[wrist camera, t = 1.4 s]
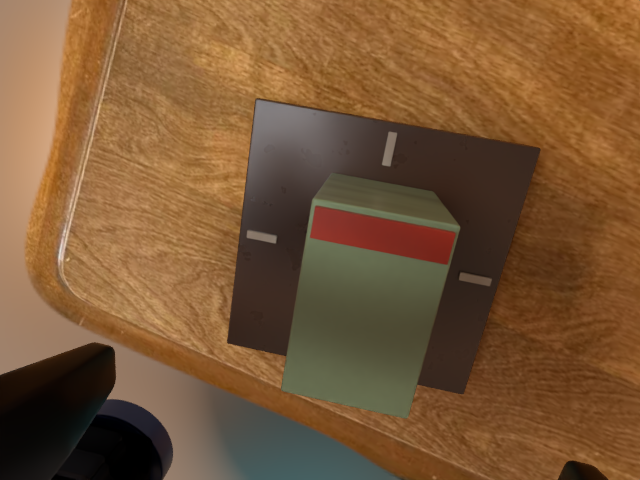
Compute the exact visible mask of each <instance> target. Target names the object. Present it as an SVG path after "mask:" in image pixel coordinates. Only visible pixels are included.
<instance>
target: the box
mask: <svg viewBox="0 0 640 480" xmlns="http://www.w3.org/2000/svg"><path fill="white" fill-rule="evenodd" d="M459 231H460V225H459V224H458V223H457V222H456V220H455V219H454V218H453V216H452V215H451V214H450V212H449V211H448V210H447V208H446V207H445V206H444V205H443V203H442V202H441V201H440V199H439V198H438V197H437V195H436V194H435V193H434V192H433V191H428V190H423V189H417V188H412V187H406V186H401V185H396V184H390V183H385V182H380V181H374V180H369V179H363V178H358V177H353V176H347V175H342V174H337V173H332V174H331V175H330V176H329V178H328V179H327V180H326V182H325V183H324V184H323V186H322V187H321V188H320V190H319V191H318V192H317V194H316V195H315V197H314V198H313V199H312V204H311V210H310V216H309V222H308V228H307V234H306V241H305V247H304V253H303V259H302V265H301V271H300V277H299V283H298V289H297V295H296V301H295V307H294V313H293V319H292V325H291V331H290V337H289V343H288V350H287V356H286V362H285V368H284V374H283V380H282V386H281V389H282V391H284V392H289V393H293V394H298V395H302V396H307V397H311V398H316V399H320V400H325V401H329V402H334V403H338V404H342V405H347V406H351V407H356V408H360V409H365V410H369V411H374V412H378V413H383V414H387V415H392V416H396V417H401V418H405V419H406V418H408V416H409V412H410V409H411V405H412V402H413V398H414V394H415V391H416V387H417V383H418V380H419V376H420V372H421V369H422V365H423V362H424V358H425V354H426V351H427V347H428V343H429V340H430V336H431V333H432V329H433V325H434V322H435V318H436V314H437V311H438V307H439V303H440V300H441V296H442V293H443V289H444V285H445V282H446V278H447V274H448V271H449V267H450V264H451V260H452V256H453V253H454V249H455V245H456V242H457V238H458V234H459Z"/></svg>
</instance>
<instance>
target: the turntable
mask: <svg viewBox="0 0 640 480" xmlns="http://www.w3.org/2000/svg"><path fill="white" fill-rule="evenodd" d="M539 153H540V148H537V147H533V146H528V145H522V144H517V143H511V142H505V141H500V140H494V139H488V138H483V137H477V136H471V135H466V134H460V133H454V132H449V131H443V130H437V129H432V128H426V127H420V126H415V125H409V124H403V123H398V122H392V121H386V120H380V119H375V118H369V117H363V116H358V115H352V114H346V113H341V112H335V111H329V110H324V109H318V108H312V107H307V106H301V105H295V104H290V103H284V102H278V101H273V100H267V99H260V98H256V100H255V108H254V116H253V125H252V133H251V142H250V150H249V159H248V168H247V176H246V185H245V193H244V202H243V210H242V219H241V228H240V236H239V245H238V253H237V262H236V271H235V279H234V288H233V296H232V305H231V313H230V322H229V331H228V339H227V343H229V344H233V345H238V346H243V347H247V348H252V349H256V350H261V351H265V352H270V353H275V354H279V355H284V356H287V350H288V343H289V337H290V331H291V325H292V319H293V313H294V307H295V301H296V295H297V289H298V283H299V277H300V271H301V265H302V259H303V253H304V247H305V241H306V234H307V228H308V222H309V216H310V210H311V204H312V199H313V198H314V197H315V195H316V194H317V192H318V191H319V190H320V188H321V187H322V186H323V184H324V183H325V182H326V180H327V179H328V178H329V176H330V175H331V174H332V173H337V174H342V175H347V176H353V177H358V178H363V179H369V180H374V181H380V182H385V183H390V184H396V185H401V186H406V187H412V188H417V189H423V190H428V191H433V192H434V193H435V194H436V195H437V197H438V198H439V199H440V201H441V202H442V203H443V205H444V206H445V207H446V208H447V210H448V211H449V212H450V214H451V215H452V216H453V218H454V219H455V220H456V222H457V223H458V224H459V225H460V231H459V234H458V238H457V242H456V245H455V249H454V253H453V256H452V260H451V264H450V267H449V271H448V274H447V278H446V282H445V285H444V289H443V293H442V296H441V300H440V303H439V307H438V311H437V314H436V318H435V322H434V325H433V329H432V333H431V336H430V340H429V343H428V347H427V351H426V354H425V358H424V362H423V365H422V369H421V372H420V376H419V380H418V383H417V385H422V386H426V387H431V388H435V389H440V390H445V391H449V392H454V393H458V394H464V391H465V388H466V385H467V381H468V378H469V375H470V372H471V369H472V365H473V362H474V359H475V356H476V353H477V350H478V346H479V343H480V340H481V337H482V334H483V331H484V327H485V324H486V321H487V318H488V315H489V312H490V308H491V305H492V302H493V299H494V296H495V293H496V289H497V286H498V283H499V280H500V277H501V274H502V270H503V267H504V264H505V261H506V258H507V255H508V251H509V248H510V245H511V242H512V239H513V236H514V232H515V229H516V226H517V223H518V220H519V217H520V213H521V210H522V207H523V204H524V201H525V198H526V194H527V191H528V188H529V185H530V182H531V179H532V175H533V172H534V169H535V166H536V163H537V160H538V156H539Z"/></svg>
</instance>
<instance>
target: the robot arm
mask: <svg viewBox="0 0 640 480" xmlns="http://www.w3.org/2000/svg"><path fill="white" fill-rule="evenodd" d="M115 380H116V370H115V351H114V349H113V347H111V346H109V345H104V344H100V343H95V342H94V343H90V344H87V345H84V346H81V347H78V348H76V349H73V350H70V351H67V352H64V353H61V354H58V355H56V356H53V357H50V358H47V359H44V360H42V361H39V362H36V363H33V364H30V365H27V366H25V367H22V368H19V369H16V370H13V371H10V372H7V373H4V374H2V375H0V480H150V476H151V460H152V444H153V443H152V440H151V439H150V438H149V437H147V436H143V435H139V434H135V433H130V432H126V431H122V430H118V429H113V428H109V427H105V426H101V425H97V424H92V423H91V422H92V420H93V419H94V417H95V416H96V414H97V413H98V411H99V410H100V408H101V406H102V405H103V403H104V402H105V400H106V399H107V397H108V395H109V394H110V393H111V391H112V389H113V387H114V384H115ZM143 443H144V444H143ZM558 480H608V479H607V478H606V477H605V476H604V475H603V474H602V473H601V472H600V471H599V470H598V469H597V468H596V467H594V466H592V465H589V464H585V463H581V462H577V461H568V462H567V463H566V464H565V466H564V467H563V470H562V472H561V474H560V476H559V478H558Z"/></svg>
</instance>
